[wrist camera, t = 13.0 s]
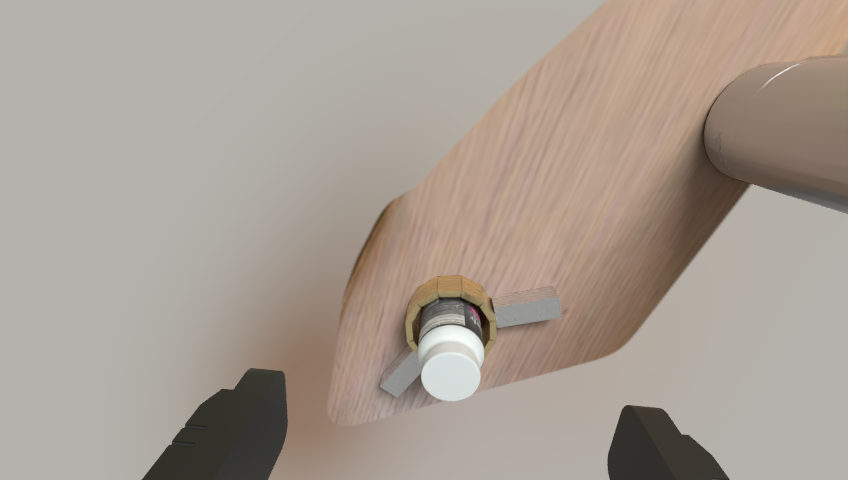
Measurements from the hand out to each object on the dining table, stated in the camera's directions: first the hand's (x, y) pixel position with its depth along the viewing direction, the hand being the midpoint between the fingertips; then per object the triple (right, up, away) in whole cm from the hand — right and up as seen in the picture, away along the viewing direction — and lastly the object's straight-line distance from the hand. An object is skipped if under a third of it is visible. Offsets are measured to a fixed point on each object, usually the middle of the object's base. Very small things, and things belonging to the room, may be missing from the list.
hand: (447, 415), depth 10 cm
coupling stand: (+2, -3, +31) cm, 31 cm away
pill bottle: (+2, -3, +31) cm, 31 cm away
